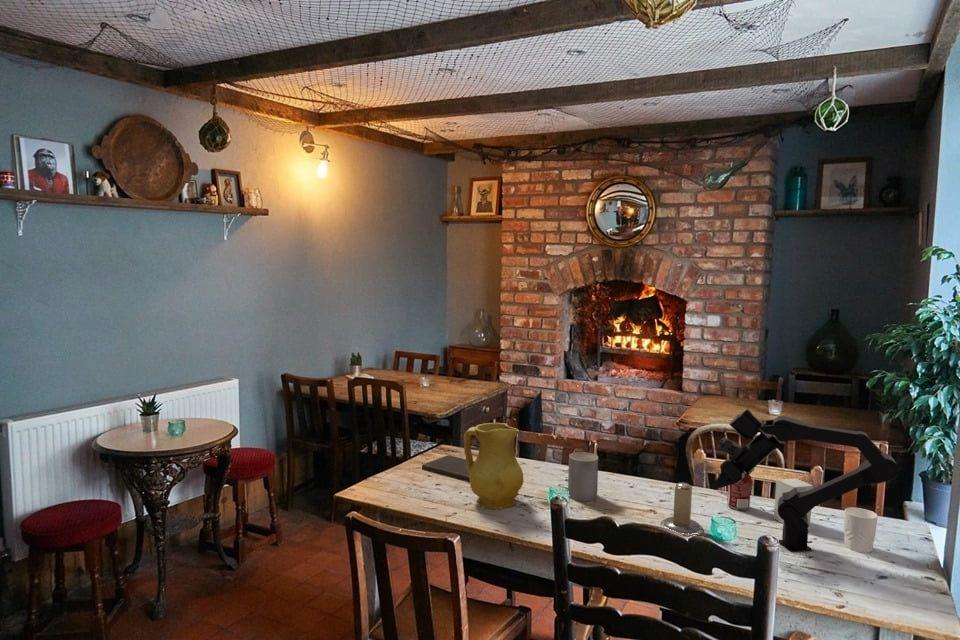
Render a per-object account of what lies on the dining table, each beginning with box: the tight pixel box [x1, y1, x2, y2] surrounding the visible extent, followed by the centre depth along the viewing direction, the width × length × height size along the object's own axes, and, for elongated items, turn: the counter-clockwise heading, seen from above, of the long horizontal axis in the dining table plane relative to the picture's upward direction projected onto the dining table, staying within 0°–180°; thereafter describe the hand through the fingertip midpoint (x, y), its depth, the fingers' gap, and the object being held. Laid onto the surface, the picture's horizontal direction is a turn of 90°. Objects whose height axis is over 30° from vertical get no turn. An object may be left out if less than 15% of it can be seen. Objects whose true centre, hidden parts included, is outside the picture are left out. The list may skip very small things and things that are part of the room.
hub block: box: [672, 482, 693, 528], centre depth 187 cm, size 4×4×12 cm
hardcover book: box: [421, 454, 475, 483], centre depth 235 cm, size 16×23×2 cm
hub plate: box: [659, 516, 704, 537], centre depth 187 cm, size 12×12×1 cm
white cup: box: [843, 507, 879, 554], centre depth 176 cm, size 8×8×10 cm
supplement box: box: [773, 478, 814, 527], centre depth 193 cm, size 7×7×13 cm
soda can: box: [726, 471, 752, 511], centre depth 204 cm, size 7×7×12 cm
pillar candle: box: [567, 451, 599, 502], centre depth 210 cm, size 10×10×15 cm
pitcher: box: [463, 422, 524, 510], centre depth 204 cm, size 17×19×25 cm
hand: (716, 485), depth 184 cm, fingers open, 9 cm apart
